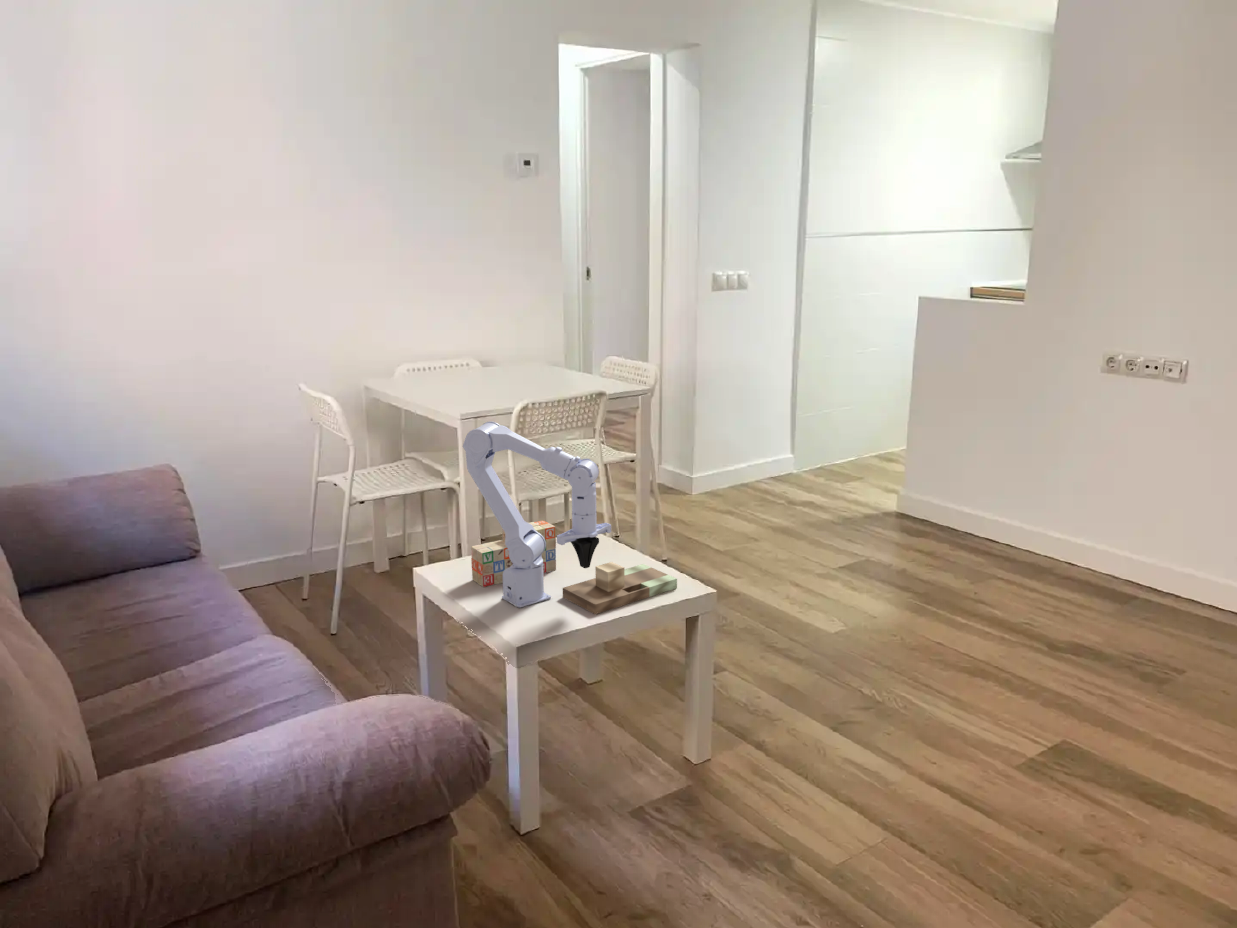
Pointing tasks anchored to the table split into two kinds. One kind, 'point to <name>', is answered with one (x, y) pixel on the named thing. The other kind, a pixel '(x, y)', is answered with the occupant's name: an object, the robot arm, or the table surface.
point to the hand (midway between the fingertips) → (584, 566)
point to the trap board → (620, 589)
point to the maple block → (610, 576)
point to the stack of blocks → (495, 556)
